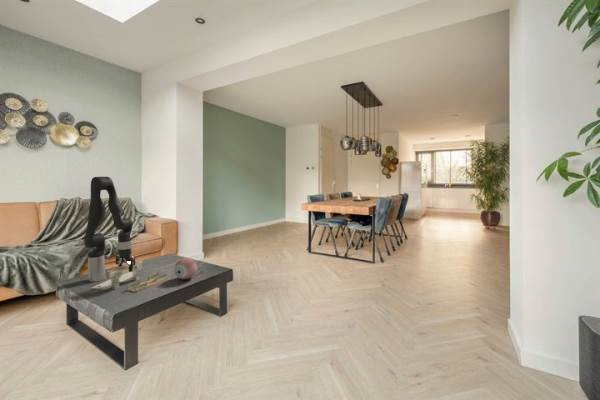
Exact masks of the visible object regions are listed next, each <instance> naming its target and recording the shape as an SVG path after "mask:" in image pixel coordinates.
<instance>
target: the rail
mask: <svg viewBox="0 0 600 400" xmlns="http://www.w3.org/2000/svg"><path fill="white" fill-rule="evenodd" d="M140 264H141V268H143V267H144V266H143V260H135V265H133V270H136V266H137V265H140ZM130 265H131V264H130ZM118 272H121V275H123V274H126V273H128V272H129V265H128V264H124V265H122V266H121V267H119V266H117V267H115V268H112V269H109V270H107V271H106V278H107V279H108V280H110V279H112V278H115V273H118Z"/></svg>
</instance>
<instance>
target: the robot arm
mask: <svg viewBox="0 0 600 400" xmlns="http://www.w3.org/2000/svg"><path fill="white" fill-rule="evenodd" d="M102 191H106V192H107V194H108V202H107V207H108V209H109V212H110V214H111V216H112V221H113V226H114V228H115V229H116V230H119V231H121V230H122V231H121V232H119V233H118V235H117V241H118V242H117V255H115V264H116V265H117V267H121V266H123V263H125V265H127V264H128V265H129V272H132V271H133V265H135V261H136V257H135V256H131V255H132V241H131V235H132V234H131V233H132V230H133V221H132V219H130V218H129V217H126V218H122V217H123V216H124V215H125V211H124V208H123V207H122V204H121V202H120V201H119V197H118V195H117V190H116V186H115V184H114V181H113V180H112V178H111V177H110V176H94V177H92V178H91V180H90V198H89V199H90V201H89V209H88V216H87V217H88V219H87V226H86V228H85V230H86V231H85V233H84V234H85V235H84V237H83V244H84V246H85V248H87V249H90V248H94V249H93V250H91V251H89V252H88V253H87V261H88V262H87V265H88V267H87V280H88V281H89V282H91V283H93V282H100V281H103V280H105V279H106V262H105V261H106V260H105V251H106V238H105V235H104V234H103V233H101V232H98V233H96V230H97V228H98V227H99V226H100V225H101V223H103V221H104V220H105V217H106V211H107V208H106V206H105V204H104V202H103V200H102V198H101V193H102ZM130 264H131V265H130Z"/></svg>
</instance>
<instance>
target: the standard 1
mask: <svg viewBox="0 0 600 400" xmlns="http://www.w3.org/2000/svg"><path fill="white" fill-rule="evenodd" d="M120 277H121V272H118V273H115V278H112V279H111V288H110V289H111V290H114V291H116V290H117V289H120V283H119V278H120Z"/></svg>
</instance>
